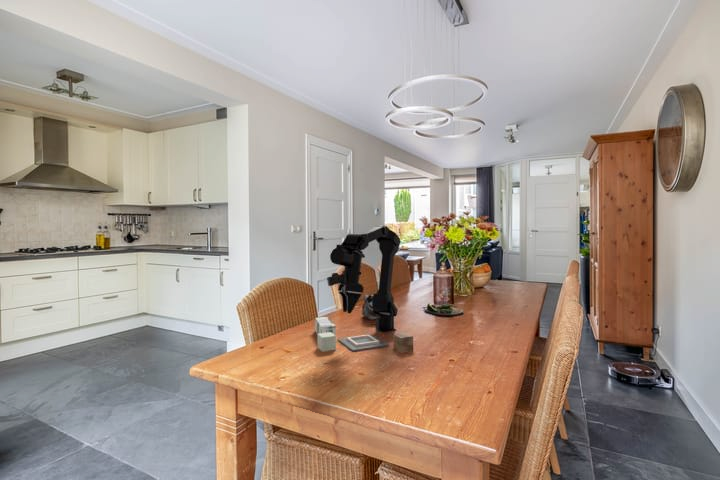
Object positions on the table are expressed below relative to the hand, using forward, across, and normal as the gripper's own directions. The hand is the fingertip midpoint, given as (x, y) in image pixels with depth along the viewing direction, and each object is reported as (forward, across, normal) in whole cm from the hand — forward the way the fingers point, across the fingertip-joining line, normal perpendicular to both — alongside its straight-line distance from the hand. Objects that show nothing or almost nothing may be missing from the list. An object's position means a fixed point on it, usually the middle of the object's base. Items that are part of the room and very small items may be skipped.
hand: (346, 312), depth 132 cm
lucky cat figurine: (+2, -41, +22) cm, 47 cm away
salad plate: (-3, -45, +55) cm, 71 cm away
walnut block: (+10, +3, +21) cm, 23 cm away
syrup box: (+7, -25, -6) cm, 27 cm away
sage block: (+13, -3, -5) cm, 15 cm away
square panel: (+10, -6, +8) cm, 15 cm away
